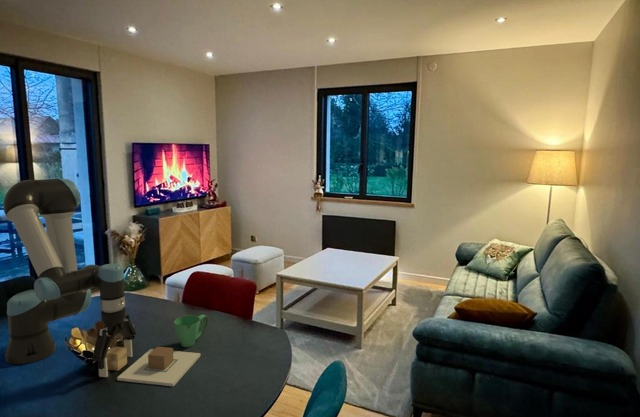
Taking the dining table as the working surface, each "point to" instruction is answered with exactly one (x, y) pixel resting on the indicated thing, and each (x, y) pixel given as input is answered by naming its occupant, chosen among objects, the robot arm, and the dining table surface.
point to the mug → (189, 328)
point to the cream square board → (160, 367)
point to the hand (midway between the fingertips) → (116, 366)
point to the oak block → (116, 358)
